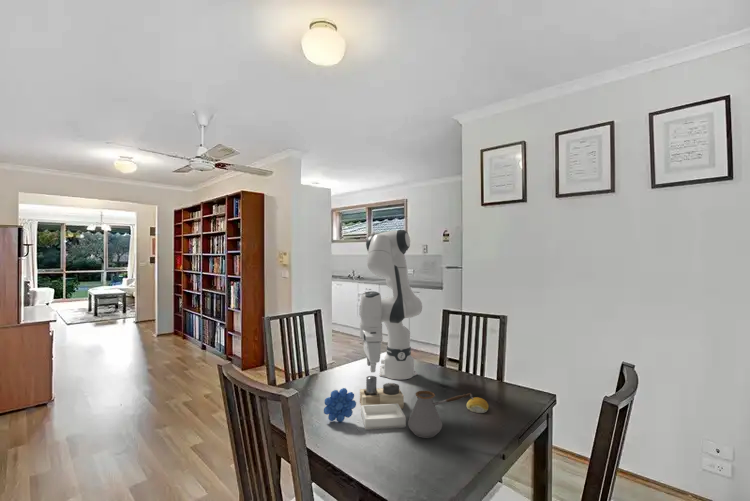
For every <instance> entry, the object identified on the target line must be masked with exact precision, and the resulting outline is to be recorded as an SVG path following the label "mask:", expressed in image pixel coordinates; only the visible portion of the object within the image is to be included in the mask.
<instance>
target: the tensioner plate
mask: <svg viewBox="0 0 750 501" xmlns="http://www.w3.org/2000/svg"><path fill="white" fill-rule="evenodd" d="M404 396H405V395H404V394H403V393H402V391H401V388H400V385H399V384H398V383H393V382H388V383H384V384H383V385H382V388H381V387H380V388H378V387H376V395H369V396H366V388H360V389H359V404H360V406H361V405H378V404H399V406H400V408H401V410H402V409H404V406H405V405H404V404H405V403H404V399H405V397H404Z"/></svg>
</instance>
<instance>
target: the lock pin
mask: <svg viewBox="0 0 750 501" xmlns="http://www.w3.org/2000/svg"><path fill="white" fill-rule="evenodd" d="M377 378H378V377H377V376H376V375H375V376H374V375H368V376H366V378H365V379H366V382H365V383H366V386H365V389H366V396H369V395H376V388H377V384H378V383H377V382H378V381H377Z"/></svg>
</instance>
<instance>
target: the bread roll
mask: <svg viewBox="0 0 750 501" xmlns="http://www.w3.org/2000/svg"><path fill="white" fill-rule="evenodd" d="M465 405H466V408H467V410H469V411H470V412H472V413H477V414H484V413H487V412H488V410H489V403H488V401H487V400H485V399H484V398H482V397H478V396H477V397H473V400H472V399H471V398H470V399H469V400H468V401H467V402H466V404H465Z"/></svg>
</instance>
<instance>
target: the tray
mask: <svg viewBox="0 0 750 501" xmlns="http://www.w3.org/2000/svg"><path fill="white" fill-rule="evenodd" d="M360 416H361V420H362V424H363V427H364V431H368V430H385V429H386V430H387V429H388V430H389V429H399V428H406V426H407V424H406V421H407V420H406V415H405V413H404V411H403V410H402V409H401V408H400V406H399V404H378V405H361V404H360Z"/></svg>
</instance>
